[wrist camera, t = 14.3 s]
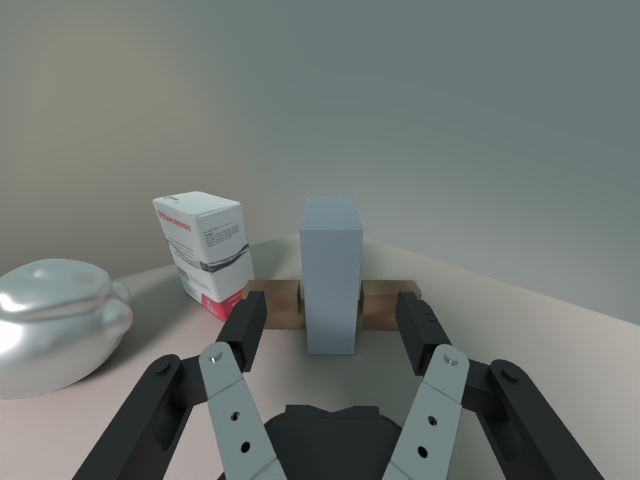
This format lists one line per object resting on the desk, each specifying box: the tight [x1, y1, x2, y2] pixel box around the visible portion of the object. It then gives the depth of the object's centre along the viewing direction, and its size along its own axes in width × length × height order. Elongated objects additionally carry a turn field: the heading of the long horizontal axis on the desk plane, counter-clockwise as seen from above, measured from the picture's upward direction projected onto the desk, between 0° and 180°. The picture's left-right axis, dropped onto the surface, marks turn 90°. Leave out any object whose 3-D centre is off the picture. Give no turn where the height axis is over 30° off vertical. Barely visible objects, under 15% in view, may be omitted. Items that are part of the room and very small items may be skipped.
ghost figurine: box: [0, 259, 133, 399], centre depth 17 cm, size 9×10×10 cm
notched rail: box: [242, 280, 422, 331], centre depth 22 cm, size 16×2×4 cm, turn 88°
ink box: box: [153, 191, 256, 321], centre depth 24 cm, size 8×5×12 cm, turn 54°
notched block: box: [300, 197, 363, 355], centre depth 20 cm, size 4×7×12 cm, turn 178°
